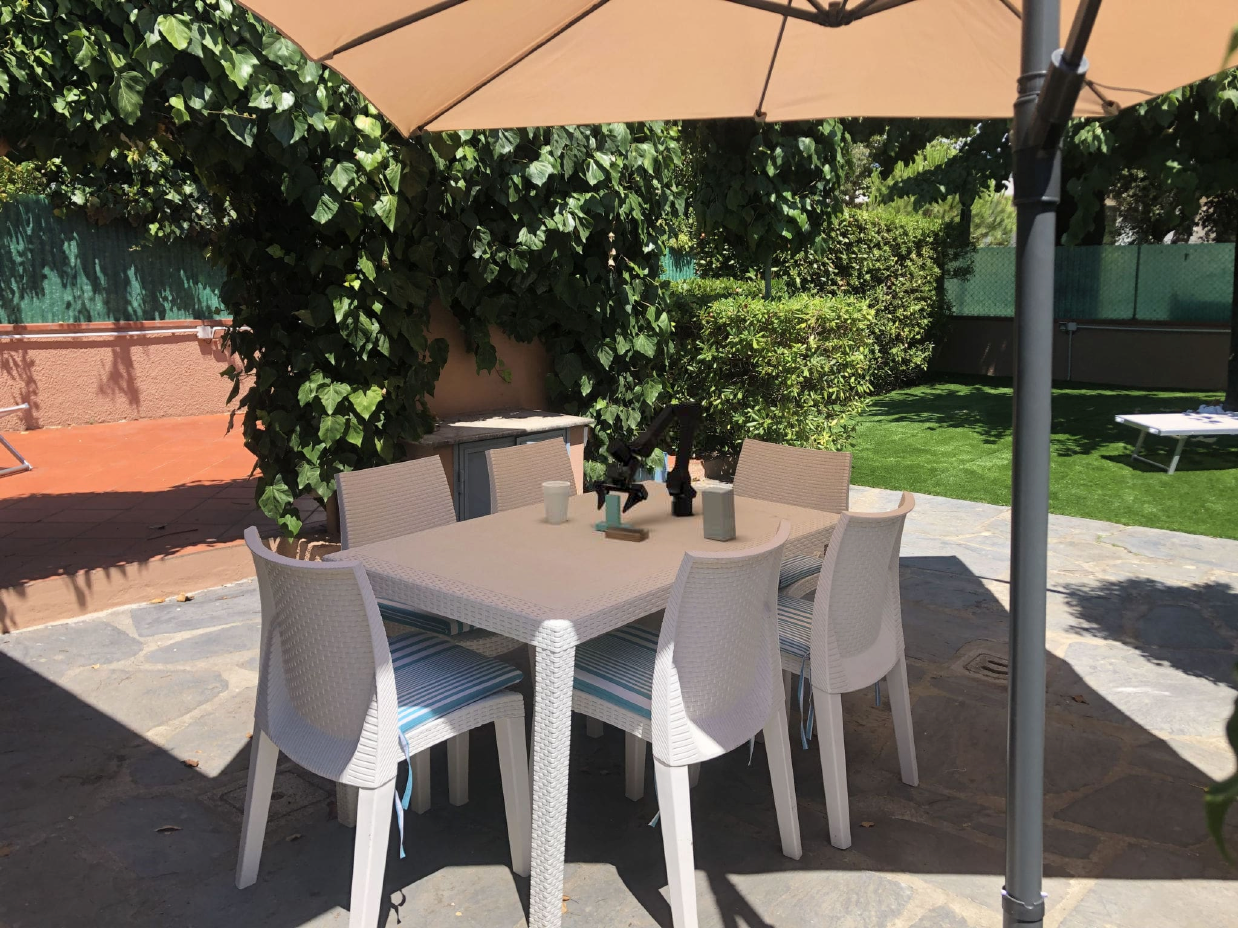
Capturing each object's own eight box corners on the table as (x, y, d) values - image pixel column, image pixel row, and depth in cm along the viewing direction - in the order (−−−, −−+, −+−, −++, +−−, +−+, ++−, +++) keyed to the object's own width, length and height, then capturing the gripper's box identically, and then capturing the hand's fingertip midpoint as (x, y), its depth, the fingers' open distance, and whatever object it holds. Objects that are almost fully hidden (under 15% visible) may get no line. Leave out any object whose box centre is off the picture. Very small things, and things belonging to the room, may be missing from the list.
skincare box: (736, 538, 307) (736, 488, 305) (722, 542, 302) (722, 491, 300) (714, 534, 313) (715, 485, 310) (700, 538, 308) (700, 488, 305)
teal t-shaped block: (602, 527, 323) (601, 492, 321) (634, 531, 317) (633, 495, 315) (595, 529, 319) (594, 494, 317) (627, 533, 313) (627, 497, 311)
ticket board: (615, 533, 315) (615, 522, 315) (649, 537, 309) (649, 526, 308) (604, 537, 310) (604, 526, 309) (639, 542, 303) (639, 531, 303)
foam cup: (575, 519, 335) (575, 482, 333) (562, 525, 327) (562, 487, 325) (551, 517, 339) (550, 480, 337) (537, 523, 331) (537, 485, 329)
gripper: (593, 455, 321) (576, 494, 314) (643, 459, 312) (626, 499, 305) (606, 475, 329) (589, 513, 322) (655, 479, 320) (639, 519, 312)
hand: (610, 511), depth 315 cm, fingers open, 9 cm apart
